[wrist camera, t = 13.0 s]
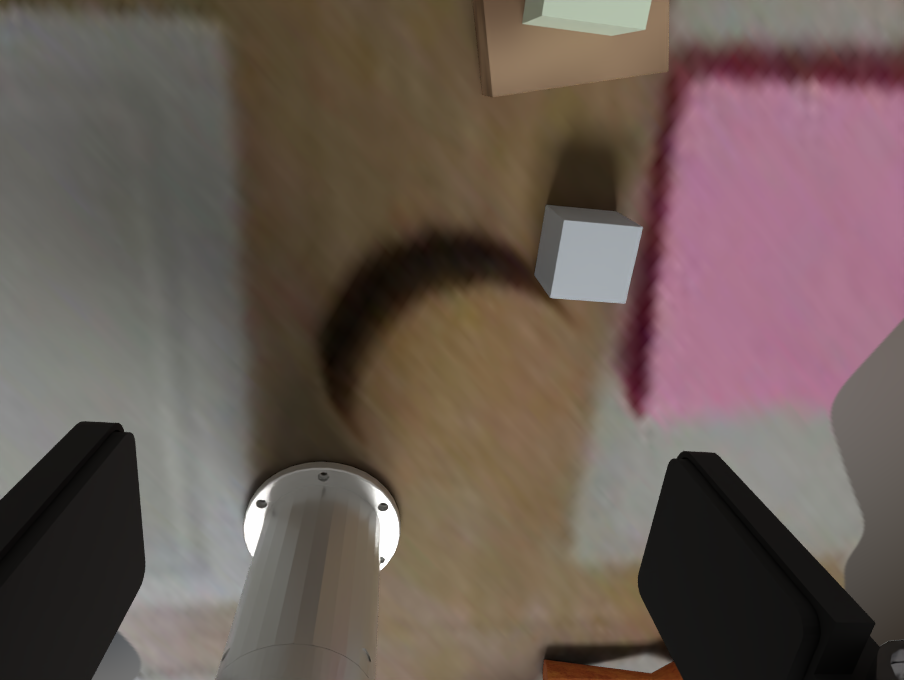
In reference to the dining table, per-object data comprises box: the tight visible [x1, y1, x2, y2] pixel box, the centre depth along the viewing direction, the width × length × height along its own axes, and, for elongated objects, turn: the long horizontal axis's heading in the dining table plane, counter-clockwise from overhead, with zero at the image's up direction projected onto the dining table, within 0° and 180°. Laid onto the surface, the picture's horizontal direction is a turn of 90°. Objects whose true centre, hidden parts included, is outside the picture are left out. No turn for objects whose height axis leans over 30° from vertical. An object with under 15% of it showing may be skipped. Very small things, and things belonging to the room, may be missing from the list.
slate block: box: [534, 205, 643, 304], centre depth 40 cm, size 5×5×5 cm
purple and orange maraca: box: [543, 659, 683, 680], centre depth 58 cm, size 6×6×20 cm
